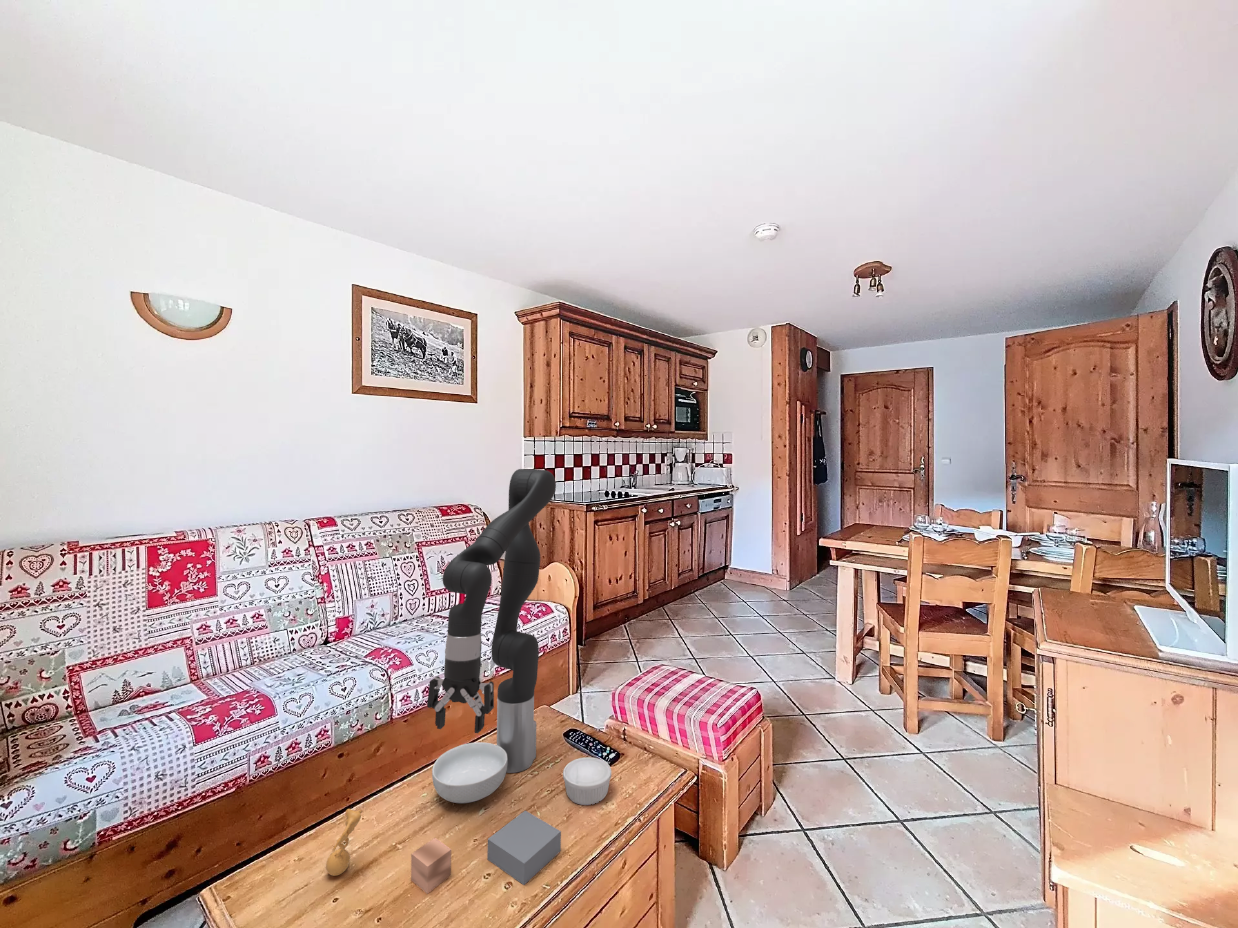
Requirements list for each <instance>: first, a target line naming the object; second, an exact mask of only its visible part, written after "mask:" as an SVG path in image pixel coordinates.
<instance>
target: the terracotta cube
mask: <svg viewBox="0 0 1238 928" xmlns="http://www.w3.org/2000/svg"><path fill="white" fill-rule="evenodd" d="M410 855H411V857H410V862H411V863H410V880H411V882H413V883H414V885H416V886H417V887H418V888H420V889H421V890H422V891H424V892H423V893H425V894H429V893H430V892H432V891H433V890H434V889H435V888H437V887H438V886H440V885H441V884H442V883H443V882H444V881H446V880H447V879H448V878H450V877H451V876H452V848H450V847H449V846H448V845H446V844H445V843H444V842H442V841H441V840H439V839H438V838H436V837H434V838H432V839H430V840H429V841H427V842H426V843H425V844H423V845H422V846H420V847H419V848H417V849H416V850H415V851H413V852H412V853H411V854H410Z"/></svg>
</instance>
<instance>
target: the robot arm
mask: <svg viewBox="0 0 1238 928" xmlns="http://www.w3.org/2000/svg"><path fill="white" fill-rule="evenodd" d="M556 484H557V483H556V479H555V476H554V475H553V473H552V472H551V471H549V470H545V469H534V468H533V469H531V468H518V469H516V470H515V471H514V472H512V475H511V477H510V481H509V485H508V509H507V510H506V511H505V512H504V513H502V514H500V515H499V516H497V517H495V518H494V519H493V520H492V521H490V522H489V523H488V524H487V526H486V527H485V528H484V529H483V531H482V532H481V533H480V534H479V535H478V537H477V538H476V540H475V541H474V542H473V543H472V544H470V545H469V546H468V547H466V548H465V549H464V550H462V551H461V552H460V553H459V554H457V555H456V556H455V557H453V558H452V559H451V561H449V562H448V564H447V565H446V566H445V568H444V570H443V575H442V585H443V586H444V588H445V589H446V590H447V591H448V592H452V593H454V594H455V593H456V594H461V595H462V594H463V595H465V599H464V601H463V602H462V603H458V604H455V605H453V606H451V608H450V609H449V612H448V617H447V618H448V619H447V620H448V621H447V634H446V635H447V636H446V640H445V647H444V669H443V670H444V671H443V676H444V677H443V678H440V676H439V675H437V676H434V677H433V678H432V679H431V680H430V681H429V683H428V693H427V694H428V695H427V700H426V701H427V703H426V706H427V708H429V709H430V708H432V709H433V710H434V711H435V717H434V718H435V720H434V721H435V722H434V725H435V726H436V729H438V730H442V729H443V728H444V727H445V724H446V713H447V709H446V707H445V706H446V705H447V704H448V703H449V701H451V702H452V703H461V704H468V706H469V707H470V708H471V709H472V710H473V712H474V713H475V718H474V734H479V733H480V732H481V731H482V730H483V728H484V727H485V715H488V714H489V713H490V712H492V710H493V709H494V708H495V707H494V706H495V689H494V687H495V683H494V682H493V681H492V680H490V681H489V682H481V679H480V677H481V662H482V661H481V660H482V616H483V611H484V608H485V605H486V601H487V598H488V596H489V592H490V589H491V586H492V579H493V578H492V577H493V576H492V572H491V570H490V568H489V566H492V565H495V564H496V563H498V562H499V561H500V560H501V558H502V557H503V555H504V560H503V561H504V562H503V568H502V569H503V571H502V583H501V592H500V599H499V606H498V612H497V618H496V623H495V626H494V627H495V628H494V632H493V637H492V642H491V643H492V644H491V659H492V662H493V664H494V665H495V666H498V667H500V668H504V669H507V670H510V671H512V677H510V678H507V679H504V680H503V681H501V682H500V683H499V685H498V687H497V699H496V700H497V703H496V710H497V712H496V745H497V746H499V747H501V748H502V749H504V750H505V752H506V754H507V759H508V760H507V771H506V774H507V773H509V774H510V773H511V774H512V773H520V772H523V771H525V770H527V769H529V768H530V767H531V766H532V764H533V763H534V760H535V759H536V757H537V721H536V720H534V719H535V689H536V685H537V681H538V671H539V670H538V668H539V656H540V655H539V654H540V653H539V652H540V647H539V642H538V640H537V637H536V636H534V635H533V634H531V633H526V632H523V631H522V632H521V631H518V623H519V622H518V621H519V616H520V612H521V610H522V608H523V605H524V604H525V602H526V601H527V600H528V598H529V597H530V595H531V594H532V592H534V589H535V588H536V586H537V584H538V581H539V576H540V565H541V552H540V548H539V546H538V543H537V541H536V538H535V536H534V534H533V532H532V529H531V526H530V522H531V521H532V520H533V519H534V518H535V517H536V516H537V515H538V514H539V513H540V512H541V511H542V510H543V509H544V508H545V507H546V506H547V505H548V504H550V502H551V500H552V499H553V498H554V495H555V493H556V488H557V486H556ZM504 553H505V554H504ZM440 688H442V689H443V690H444V692H445V694H444V695H443V697H441V699H440V700H439V695H440V694H439V693H440ZM479 690H481V693H482V695H483V700H482V697H481V695H480V694H479ZM483 701H484V702H483Z"/></svg>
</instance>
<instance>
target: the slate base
mask: <svg viewBox="0 0 1238 928" xmlns="http://www.w3.org/2000/svg"><path fill="white" fill-rule="evenodd" d="M561 845H562V831H561V830H559V829H558V828H556V827H554V826H553V825H551V824H549V823H548V822H546V821H544V820H543V819H540V818H539V817H537V816H536V815H534V814H532V813H531V812H529V811H527V810H524V811H522V812H521V813H520V814H518V815H517V816H516V817H515V818H514V819H512V820H511V821H510V822H508V823H506V824H505V825H504V826H503V827H501V828H500V829H499V830H498V831H496V832H495V833H493V834H492V835H491V836H490V837H488V838H487V854H486V855H487V858H486V859H487V861H489V862H490V863H492V864H493V865H495V866H496V867H497V868H499V869H500V870H502V871H503V872H504V873H506V874H507V875H509V876H510V877H512V878H513V879H515V881H518V882H519V883H520V884H522V885H523V886H525V885H526V884H527V883H528V882H529V881H530V880H531V879H533V877H534V876H536V874H538V873H539V872H540V871H541V870H542V869H544V867H545V866H546V865H547V864H549V863H550V862H551V861H552V860H553V859H554V858H555V857H556V856H557V855H558V854H559V853H560V852H561V851H562V850H561V849H562V848H561Z"/></svg>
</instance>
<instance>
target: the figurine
mask: <svg viewBox="0 0 1238 928" xmlns="http://www.w3.org/2000/svg"><path fill="white" fill-rule="evenodd" d="M362 812H363V809H359V810H353V809H351V808H347V809H346V810H345V813H344V815H345V816H346V819H345V821H344V822H345V828H344V831H343V832H342V833H341V835H340V837H339V838H338V839H337V840H336V843H335V845H334V846H333V848H332V849H331V852H332V853H330V854H329V856H328V858H327V860H326V863H325V870H326V872H327V874H329V875H331V876H334V877H335V876H339V875H342V874H343V873H344V872H345V871H346V870H347V869H348V867H349V865H350V863H351V854H350V852H349V851H348V850H347V849H346V848H347V846H348V845H349V841H350V838H349V836H350V835H351V834H352V833H353V831H355V828H356V827H357V826H358V825H359V822H360V821H361V819H362ZM343 842H345V844H344V843H343ZM338 847H339V848H338ZM337 848H338V849H337Z"/></svg>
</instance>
